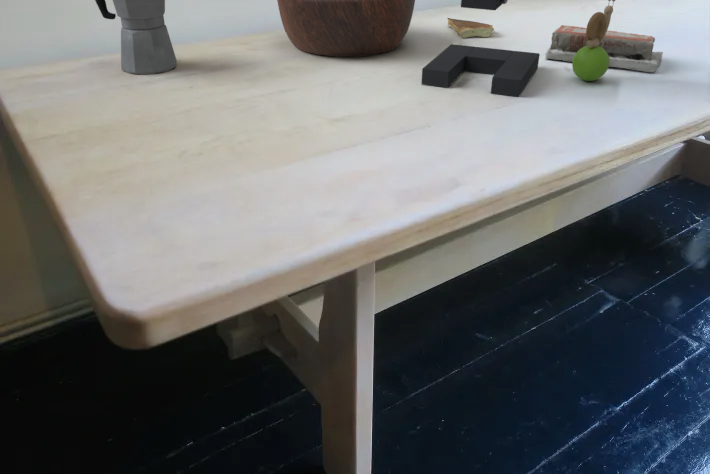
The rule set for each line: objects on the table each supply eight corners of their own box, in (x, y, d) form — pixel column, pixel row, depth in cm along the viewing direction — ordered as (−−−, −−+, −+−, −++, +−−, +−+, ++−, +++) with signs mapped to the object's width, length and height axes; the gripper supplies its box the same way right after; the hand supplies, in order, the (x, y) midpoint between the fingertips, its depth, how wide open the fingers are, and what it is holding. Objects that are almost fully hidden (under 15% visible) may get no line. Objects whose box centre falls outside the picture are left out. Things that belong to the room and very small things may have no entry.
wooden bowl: (441, 48, 121) (445, -11, 115) (325, 70, 108) (323, 5, 103) (363, 22, 138) (363, -30, 133) (255, 39, 126) (251, -18, 121)
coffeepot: (198, 61, 113) (185, -53, 104) (173, 77, 105) (156, -45, 96) (117, 55, 116) (97, -56, 107) (86, 71, 108) (61, -49, 99)
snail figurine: (614, 78, 105) (630, -1, 99) (595, 87, 101) (611, 6, 95) (582, 71, 108) (596, -6, 102) (563, 80, 104) (576, 0, 98)
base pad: (537, 68, 110) (539, 53, 109) (518, 97, 97) (521, 80, 96) (450, 58, 115) (451, 44, 114) (421, 84, 102) (422, 68, 101)
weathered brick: (547, 31, 112) (561, 19, 120) (543, 60, 114) (557, 47, 122) (662, 44, 105) (668, 31, 112) (654, 74, 107) (662, 59, 115)
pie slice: (446, 25, 137) (447, 16, 136) (483, 24, 137) (483, 15, 136) (459, 38, 127) (460, 28, 126) (498, 37, 128) (499, 27, 127)
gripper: (438, -133, 88) (429, 1, 96) (548, -131, 83) (529, 10, 91) (453, -134, 94) (444, -7, 102) (557, -132, 89) (538, 0, 97)
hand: (484, 0), depth 97 cm, fingers closed on pad piece, 5 cm apart
